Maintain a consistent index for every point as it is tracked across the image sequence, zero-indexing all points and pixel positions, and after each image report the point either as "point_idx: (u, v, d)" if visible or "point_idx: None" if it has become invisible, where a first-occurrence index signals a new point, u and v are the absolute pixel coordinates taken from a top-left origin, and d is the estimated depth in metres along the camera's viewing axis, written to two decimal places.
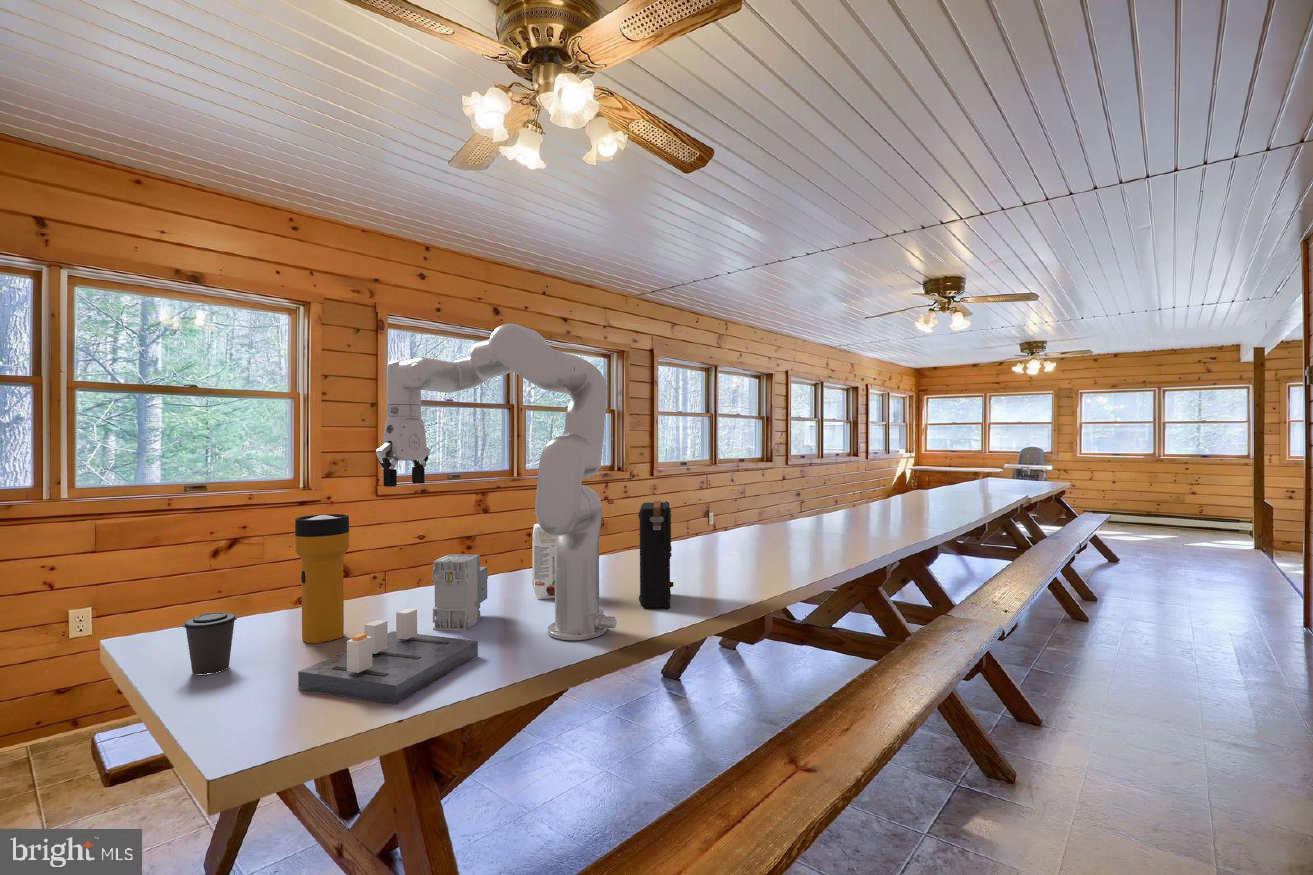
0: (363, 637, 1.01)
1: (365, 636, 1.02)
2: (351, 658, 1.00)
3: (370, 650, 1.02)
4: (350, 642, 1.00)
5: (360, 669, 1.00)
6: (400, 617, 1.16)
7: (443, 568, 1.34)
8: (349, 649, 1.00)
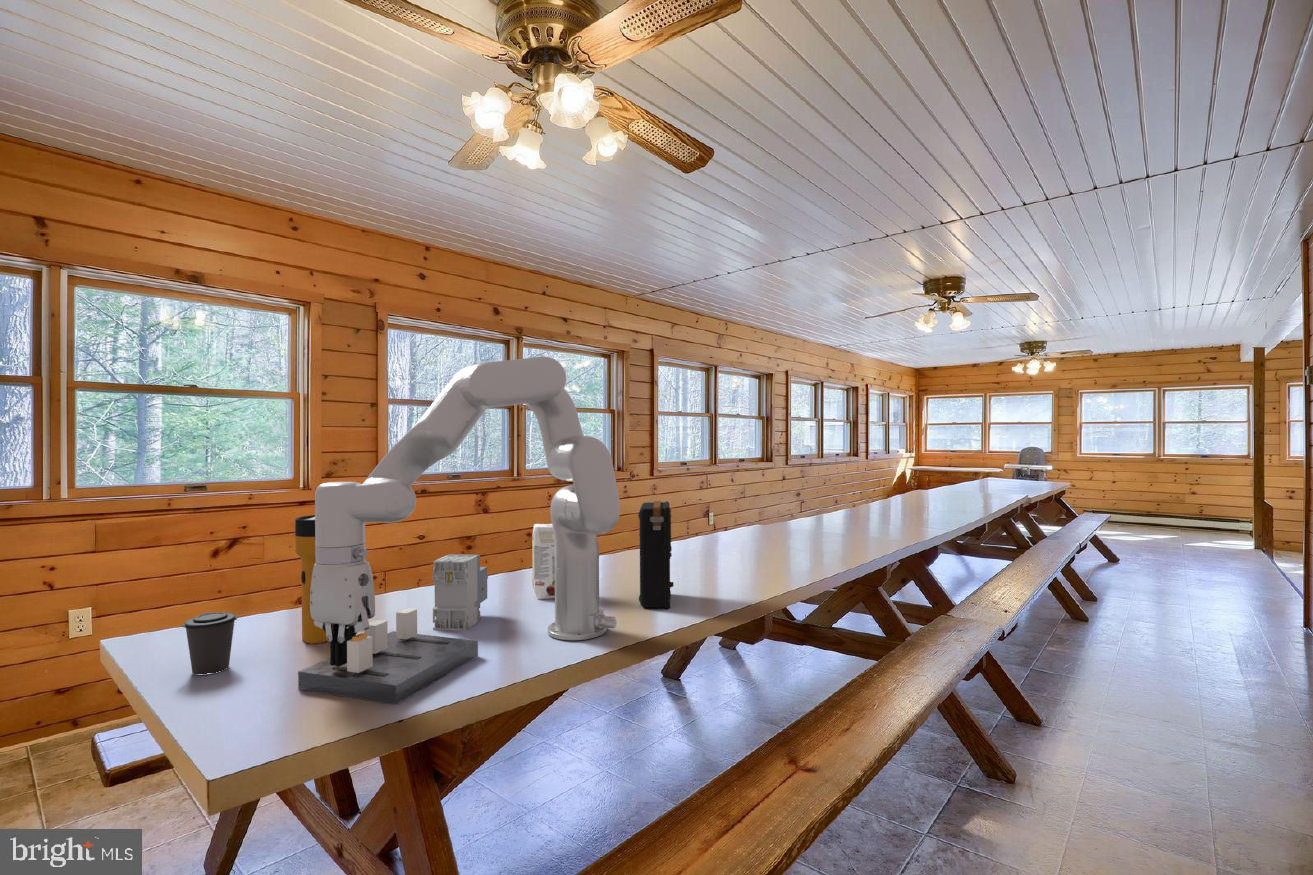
0: (363, 637, 1.01)
1: (365, 636, 1.02)
2: (351, 658, 1.00)
3: (370, 650, 1.02)
4: (350, 642, 1.00)
5: (360, 669, 1.00)
6: (400, 617, 1.16)
7: (443, 568, 1.34)
8: (349, 649, 1.00)
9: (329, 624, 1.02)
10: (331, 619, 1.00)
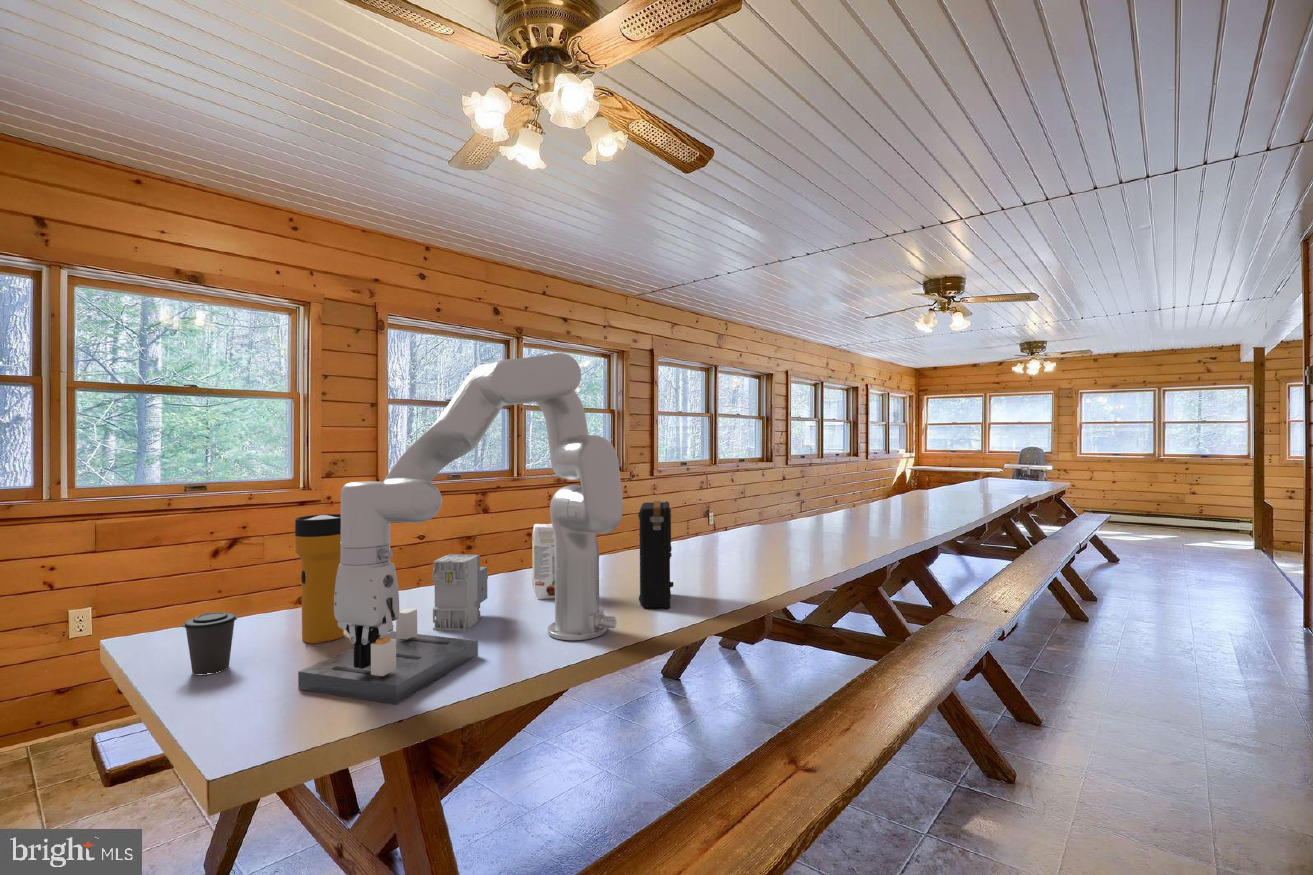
0: (387, 640, 1.00)
1: (389, 639, 1.00)
2: (375, 661, 0.98)
3: (394, 653, 1.00)
4: (374, 645, 0.98)
5: (384, 672, 0.98)
6: (400, 617, 1.16)
7: (443, 568, 1.34)
8: (373, 653, 0.99)
9: (353, 626, 1.00)
10: (355, 621, 0.99)
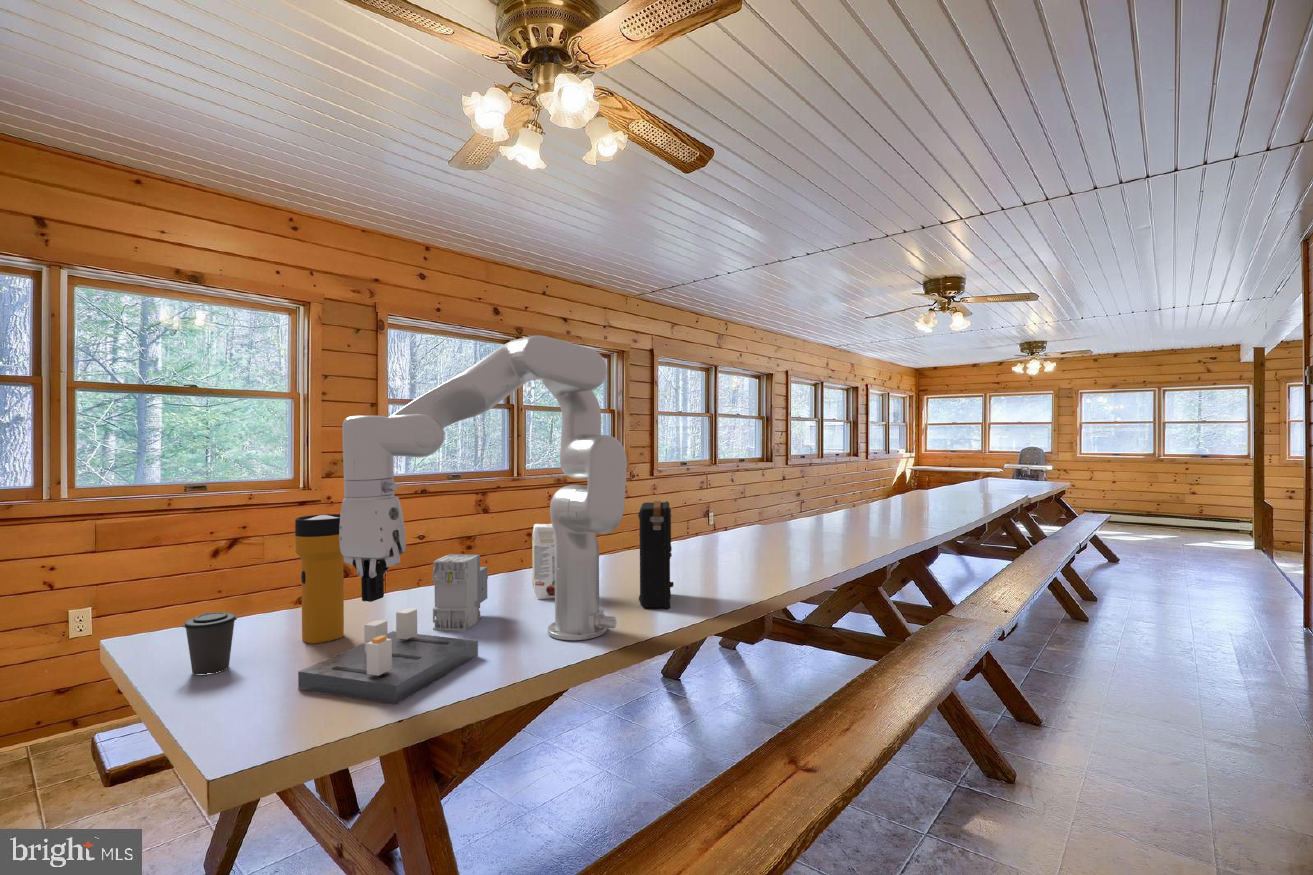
0: (383, 639, 1.00)
1: (385, 638, 1.00)
2: (370, 660, 0.99)
3: (390, 652, 1.01)
4: (370, 644, 0.99)
5: (380, 672, 0.99)
6: (400, 617, 1.16)
7: (443, 568, 1.34)
8: (369, 652, 0.99)
9: (360, 559, 1.00)
10: (362, 554, 0.99)
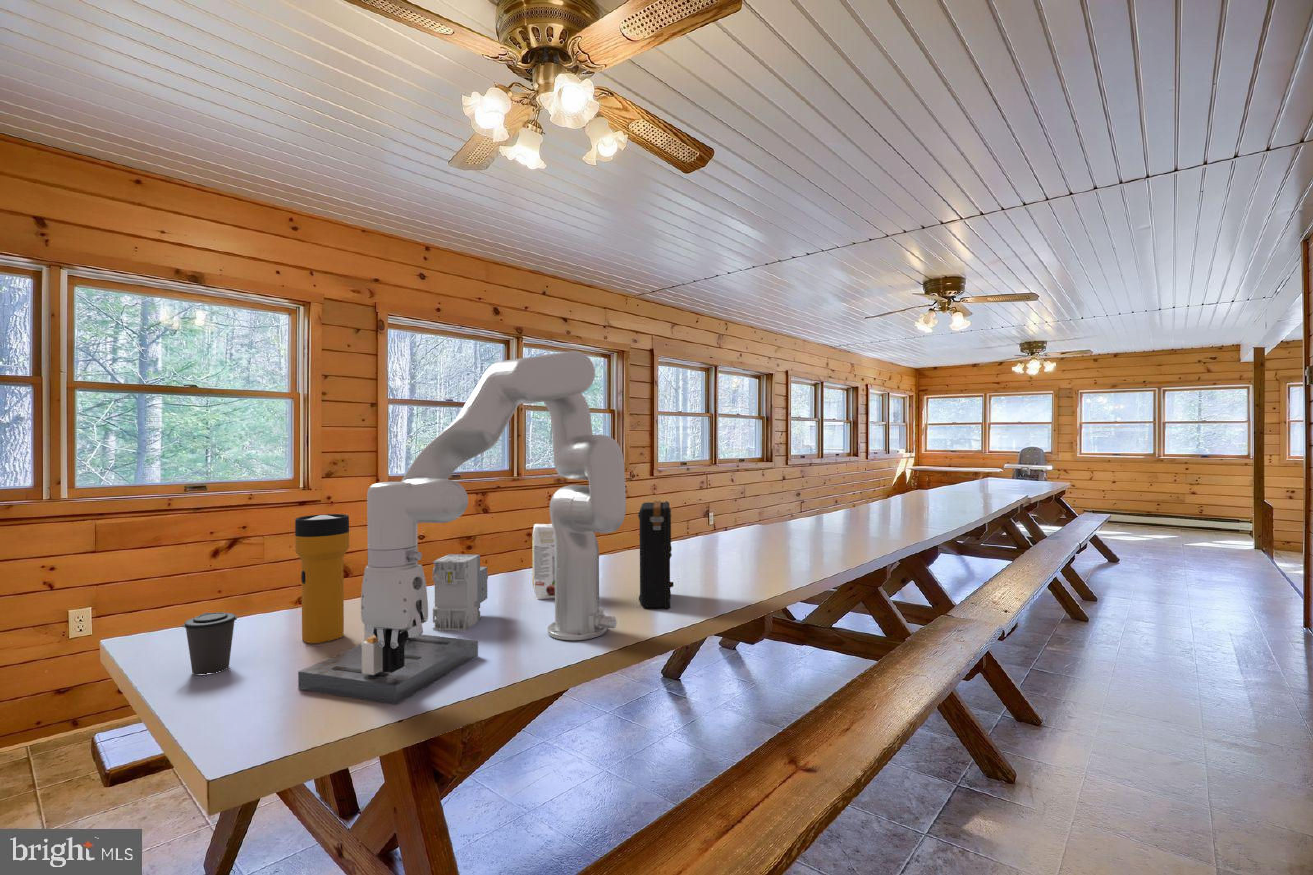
0: None
1: None
2: (366, 660, 0.99)
3: None
4: (365, 644, 0.99)
5: (375, 671, 0.99)
6: None
7: (443, 568, 1.34)
8: (364, 651, 0.99)
9: (381, 629, 0.98)
10: (384, 624, 0.97)
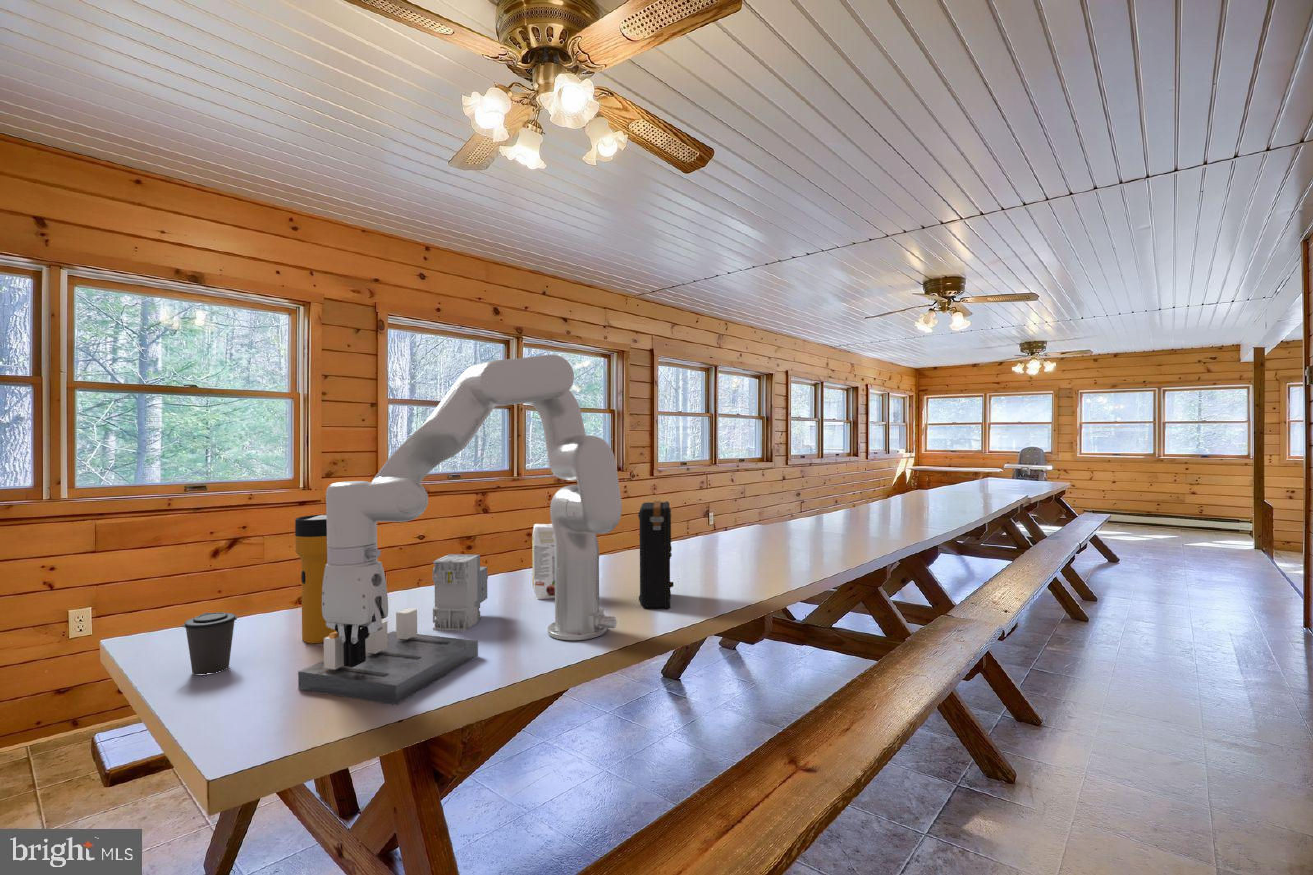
0: None
1: None
2: (327, 654, 1.01)
3: None
4: (327, 639, 1.01)
5: (337, 666, 1.01)
6: (400, 617, 1.16)
7: (443, 568, 1.34)
8: (326, 647, 1.02)
9: (342, 625, 1.01)
10: (344, 620, 1.00)
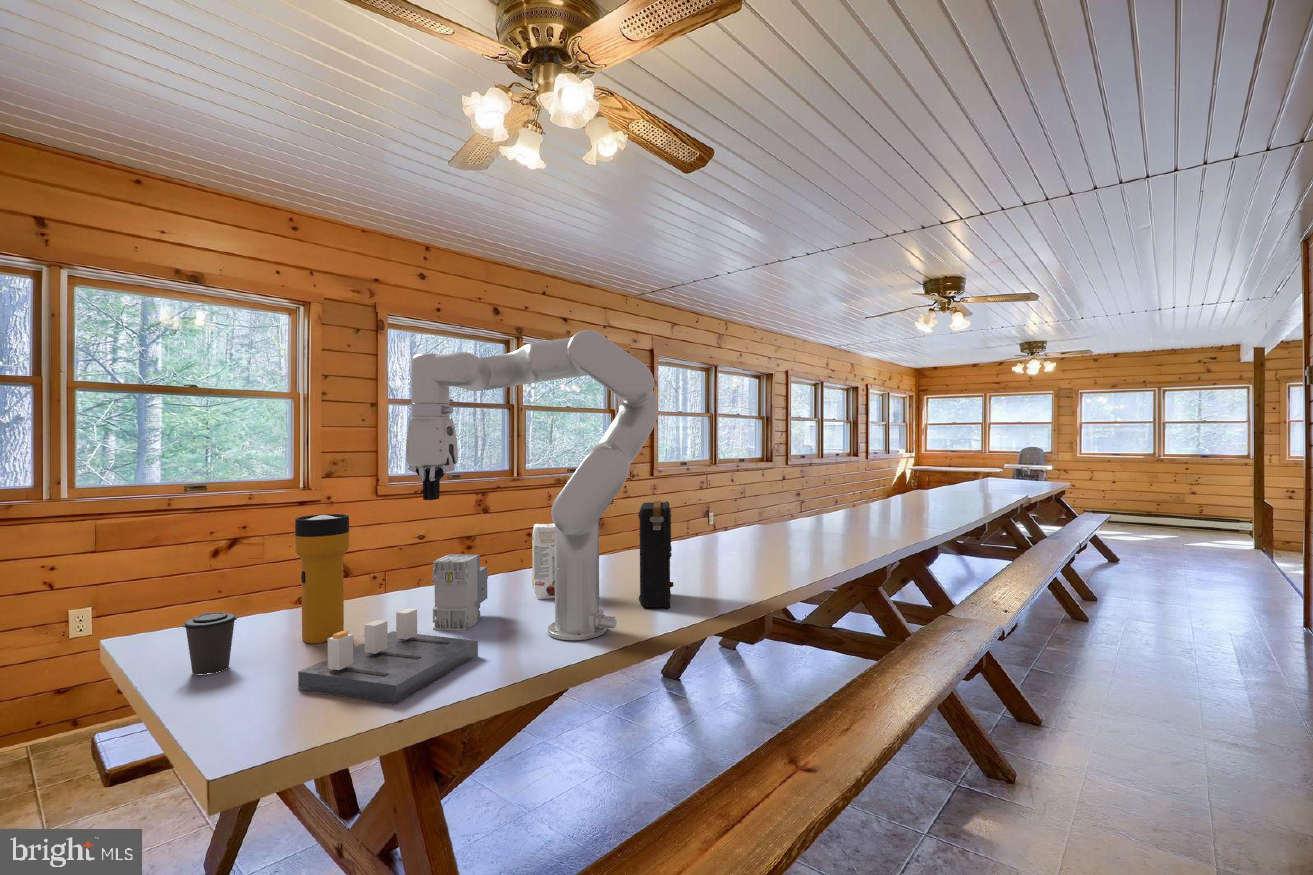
0: (344, 635, 1.03)
1: (346, 634, 1.03)
2: (331, 655, 1.01)
3: (351, 648, 1.03)
4: (331, 640, 1.01)
5: (341, 666, 1.01)
6: (400, 617, 1.16)
7: (443, 568, 1.34)
8: (330, 647, 1.01)
9: (422, 467, 1.27)
10: (424, 462, 1.26)
